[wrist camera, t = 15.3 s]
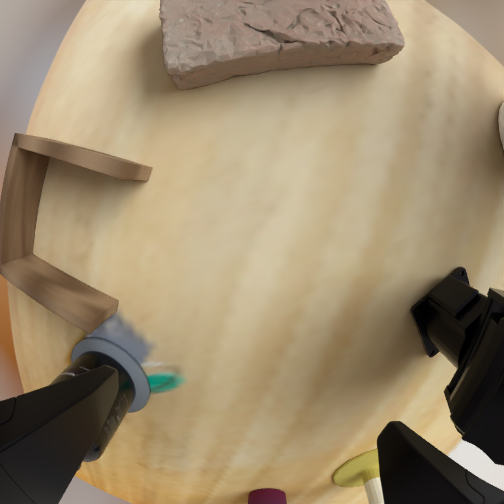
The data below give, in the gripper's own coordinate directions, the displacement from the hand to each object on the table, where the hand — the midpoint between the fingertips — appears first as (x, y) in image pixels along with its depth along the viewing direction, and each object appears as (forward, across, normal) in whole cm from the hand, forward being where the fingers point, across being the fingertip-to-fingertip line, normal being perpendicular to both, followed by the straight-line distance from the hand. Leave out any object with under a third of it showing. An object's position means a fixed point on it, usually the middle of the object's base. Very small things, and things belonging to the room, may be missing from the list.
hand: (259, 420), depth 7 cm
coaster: (+13, +12, +14) cm, 22 cm away
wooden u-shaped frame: (+13, +16, -1) cm, 21 cm away
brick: (+14, +4, -19) cm, 24 cm away
